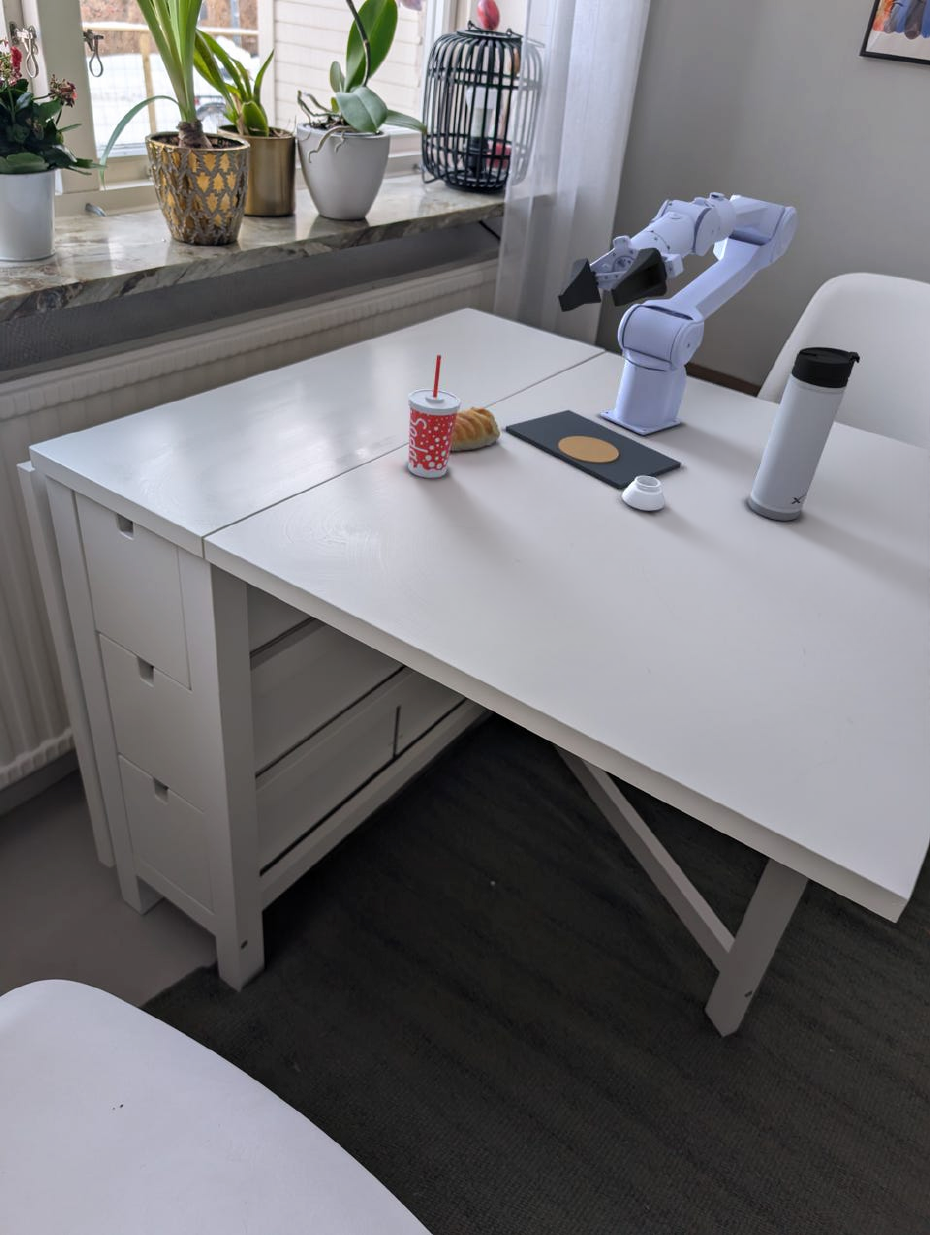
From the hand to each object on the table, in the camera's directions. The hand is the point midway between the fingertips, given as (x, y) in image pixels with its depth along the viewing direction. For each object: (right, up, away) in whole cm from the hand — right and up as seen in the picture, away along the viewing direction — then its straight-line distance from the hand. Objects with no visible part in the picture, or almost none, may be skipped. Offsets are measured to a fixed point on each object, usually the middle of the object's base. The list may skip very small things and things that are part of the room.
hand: (587, 300), depth 104 cm
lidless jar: (+7, -23, +4) cm, 25 cm away
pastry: (-14, -14, +13) cm, 24 cm away
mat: (+3, -14, +16) cm, 21 cm away
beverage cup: (-19, -19, +5) cm, 27 cm away
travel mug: (+24, -24, +7) cm, 34 cm away
